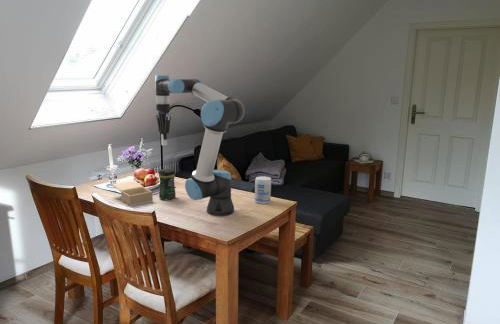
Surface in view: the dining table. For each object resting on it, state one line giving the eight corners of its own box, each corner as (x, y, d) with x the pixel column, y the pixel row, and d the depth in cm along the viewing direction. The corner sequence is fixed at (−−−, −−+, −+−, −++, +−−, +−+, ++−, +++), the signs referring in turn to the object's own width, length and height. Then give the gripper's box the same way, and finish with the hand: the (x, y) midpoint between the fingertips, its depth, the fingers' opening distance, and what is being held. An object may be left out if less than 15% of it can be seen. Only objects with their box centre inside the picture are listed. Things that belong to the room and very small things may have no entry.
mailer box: (152, 201, 231) (152, 191, 229) (130, 206, 222) (129, 196, 220) (143, 196, 240) (143, 187, 238) (121, 200, 231) (121, 191, 229)
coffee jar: (166, 201, 231) (165, 171, 227) (157, 198, 236) (156, 169, 232) (178, 197, 239) (177, 168, 235) (169, 195, 243) (168, 166, 239)
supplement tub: (257, 204, 228) (257, 180, 224) (252, 200, 236) (252, 176, 233) (272, 203, 230) (273, 179, 227) (267, 198, 239) (268, 175, 236)
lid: (134, 180, 247) (134, 181, 247) (112, 184, 238) (112, 185, 238) (143, 186, 239) (143, 187, 239) (120, 190, 229) (120, 191, 230)
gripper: (174, 103, 214) (175, 146, 219) (163, 102, 224) (164, 142, 229) (162, 104, 209) (164, 147, 214) (151, 102, 219) (152, 144, 224)
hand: (164, 145), depth 221 cm, fingers closed
